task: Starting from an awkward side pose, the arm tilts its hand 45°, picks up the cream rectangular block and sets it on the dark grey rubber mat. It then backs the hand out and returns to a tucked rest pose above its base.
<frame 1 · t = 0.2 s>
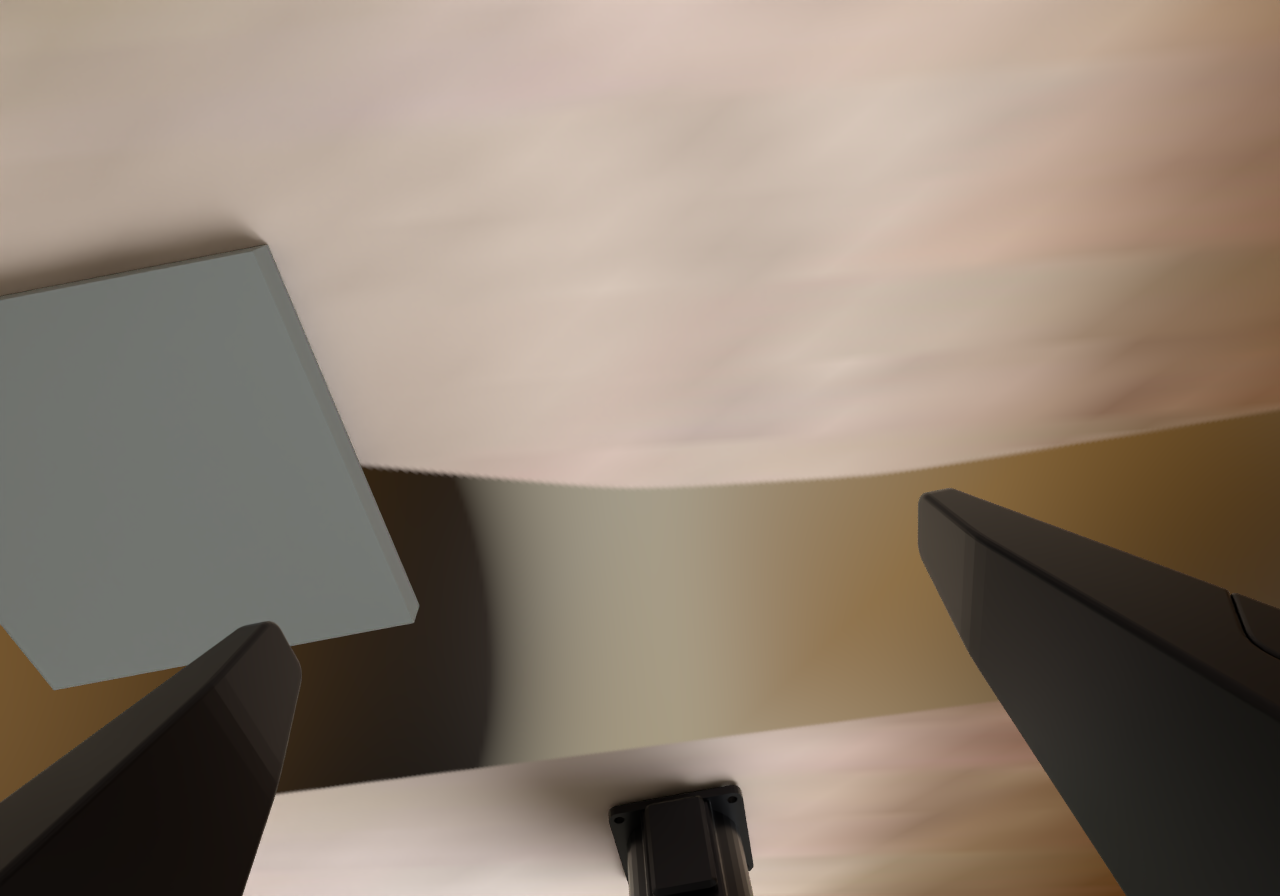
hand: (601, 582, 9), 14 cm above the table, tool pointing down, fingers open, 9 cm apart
rubber mat: (155, 487, 23), on the table
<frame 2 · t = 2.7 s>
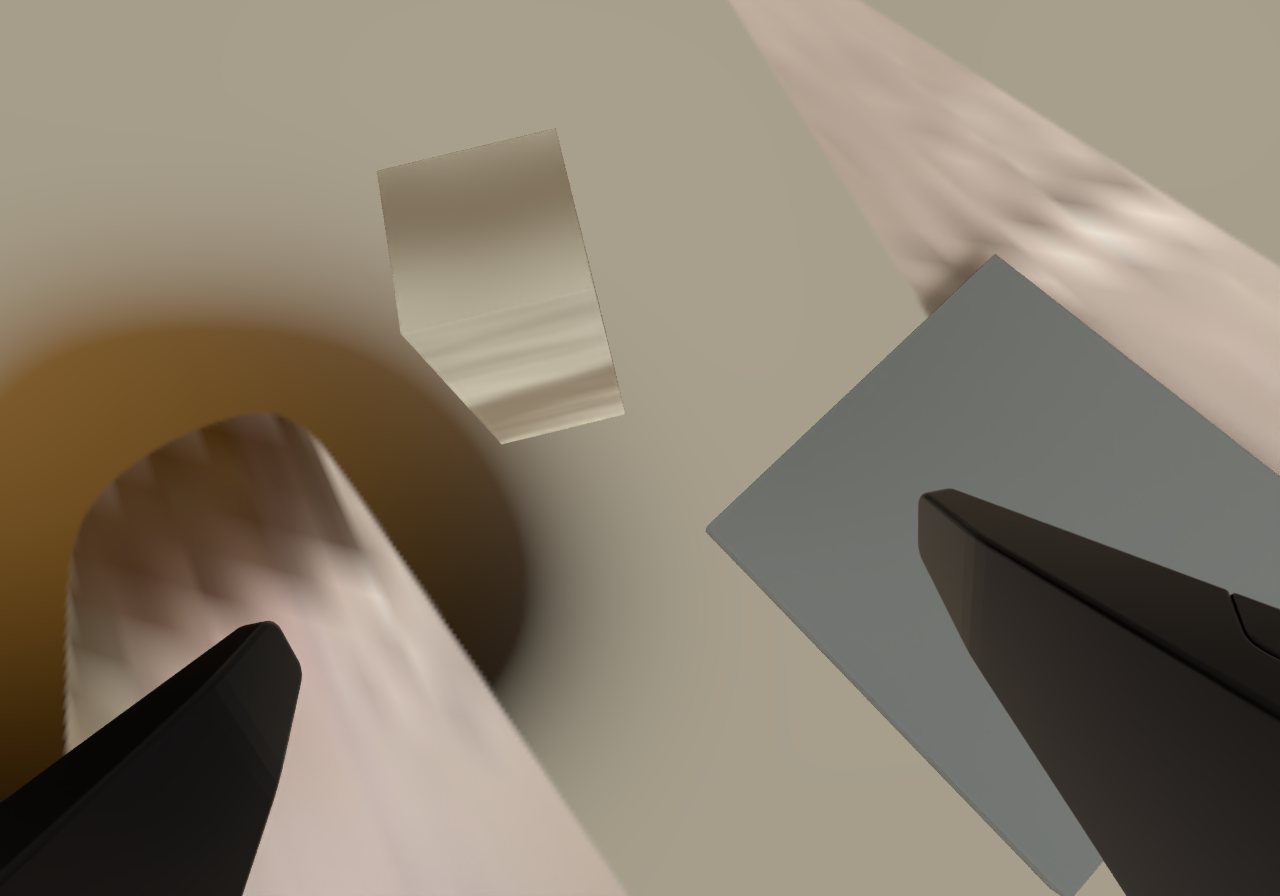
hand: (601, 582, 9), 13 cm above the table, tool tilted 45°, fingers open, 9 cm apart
cream rectangular block: (551, 371, 25), on the table
rubber mat: (1012, 541, 22), on the table
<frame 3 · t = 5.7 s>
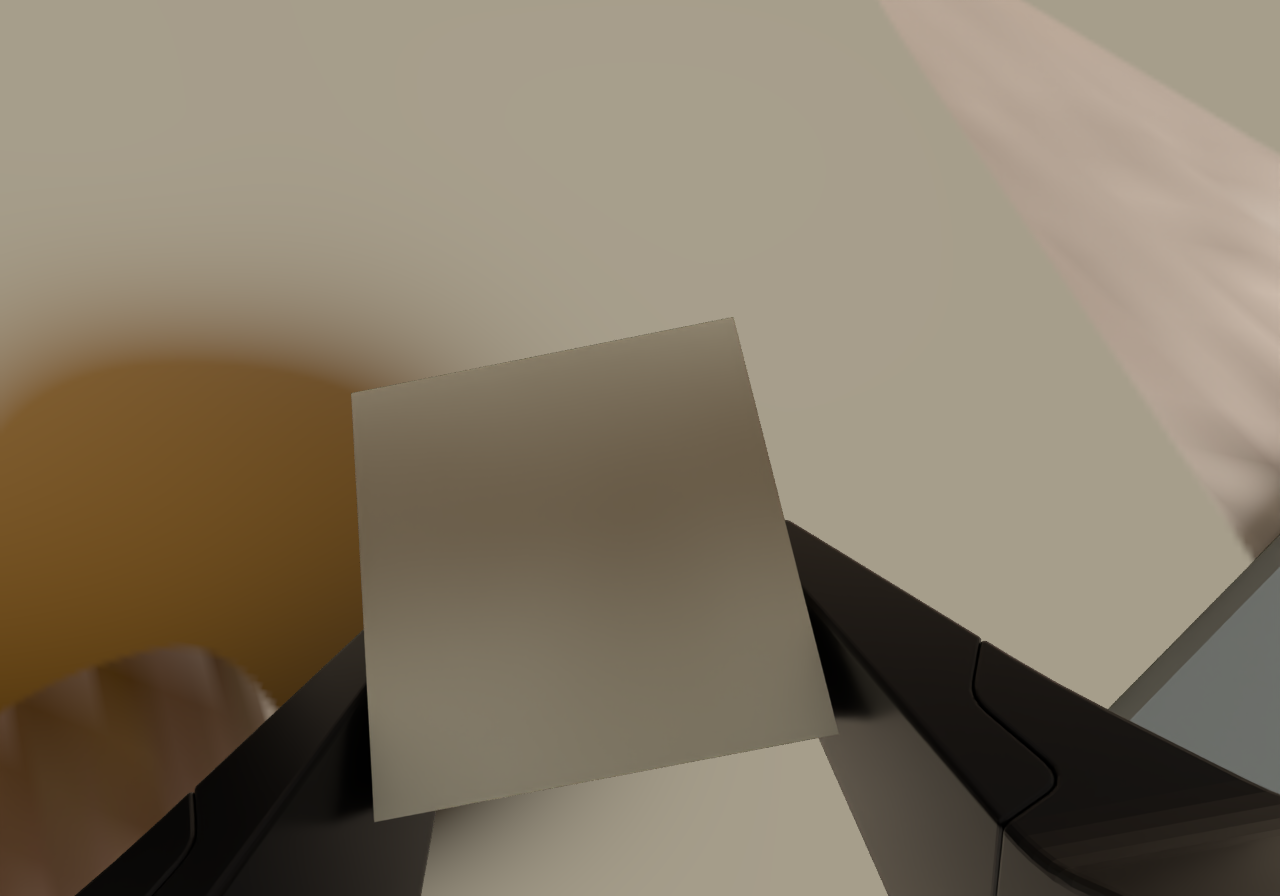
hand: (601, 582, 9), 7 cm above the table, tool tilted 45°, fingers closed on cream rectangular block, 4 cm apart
cream rectangular block: (637, 609, 16), on the table, touching gripper
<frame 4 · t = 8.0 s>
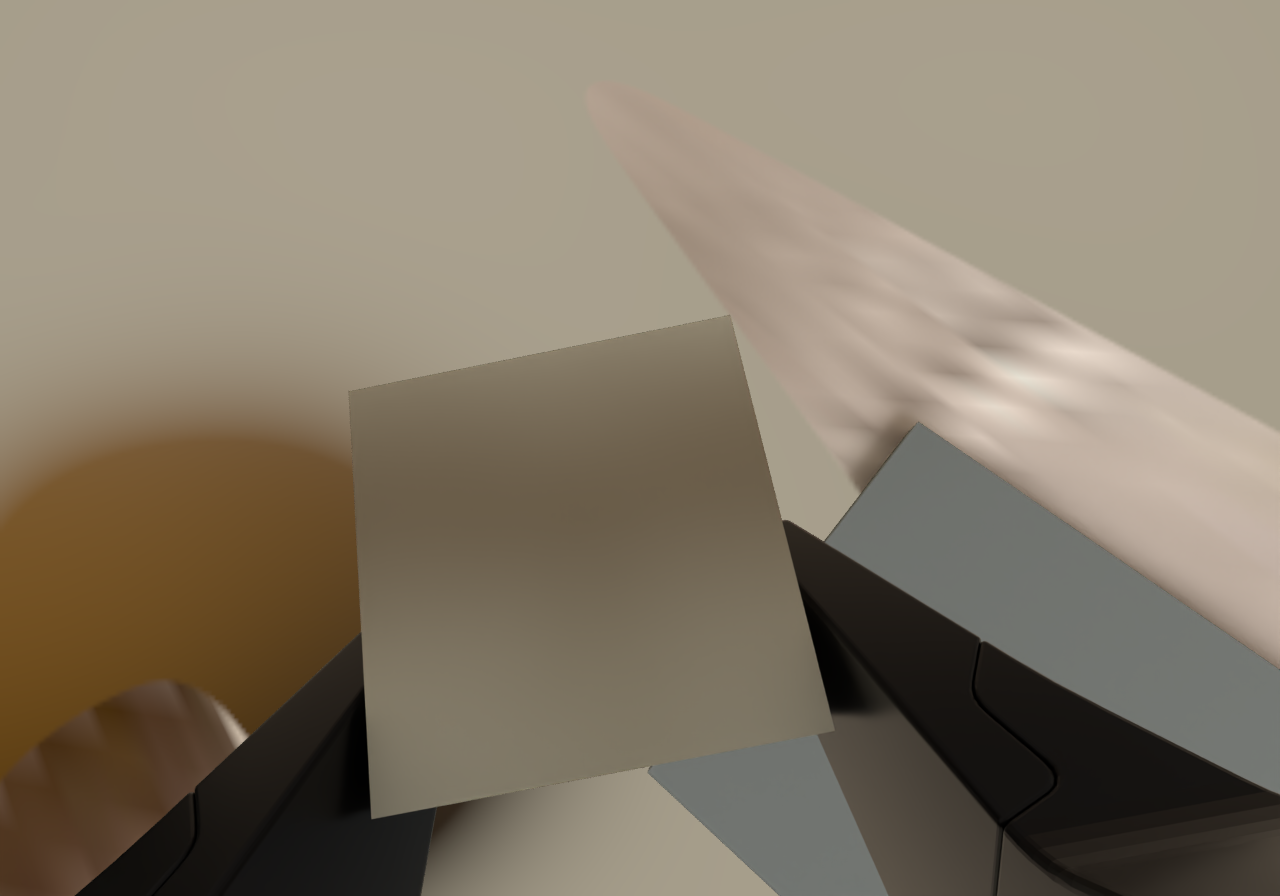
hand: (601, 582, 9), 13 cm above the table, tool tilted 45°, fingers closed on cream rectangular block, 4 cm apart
cream rectangular block: (635, 608, 16), point 7 cm above the table, touching gripper
rubber mat: (975, 740, 21), on the table
when the fingers open (8 cm above the table, at t = 10.4 s): cream rectangular block stays where it is, resting on rubber mat.
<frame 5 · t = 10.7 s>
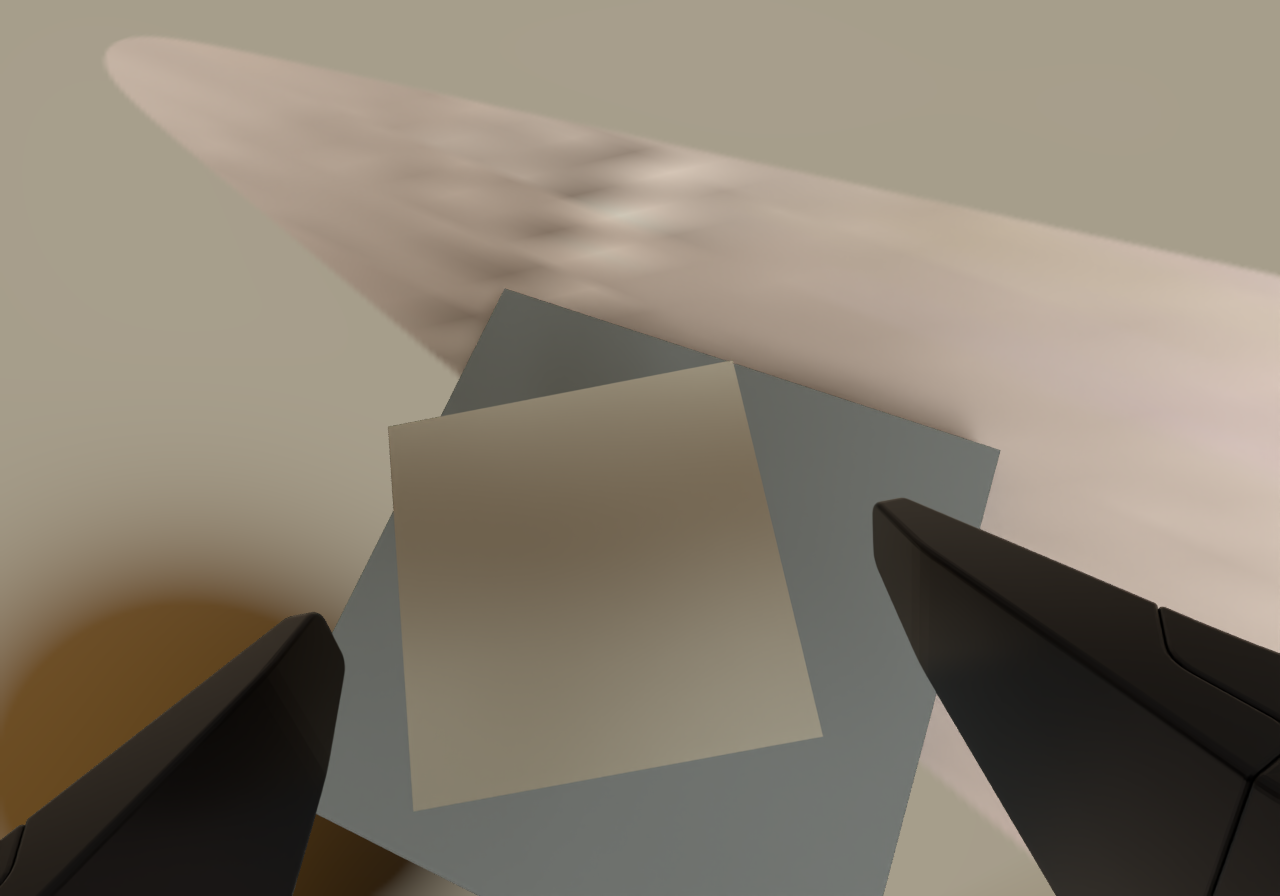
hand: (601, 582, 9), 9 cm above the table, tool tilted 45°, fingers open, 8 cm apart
cream rectangular block: (640, 615, 17), point 1 cm above the table, touching rubber mat
rubber mat: (643, 614, 18), on the table
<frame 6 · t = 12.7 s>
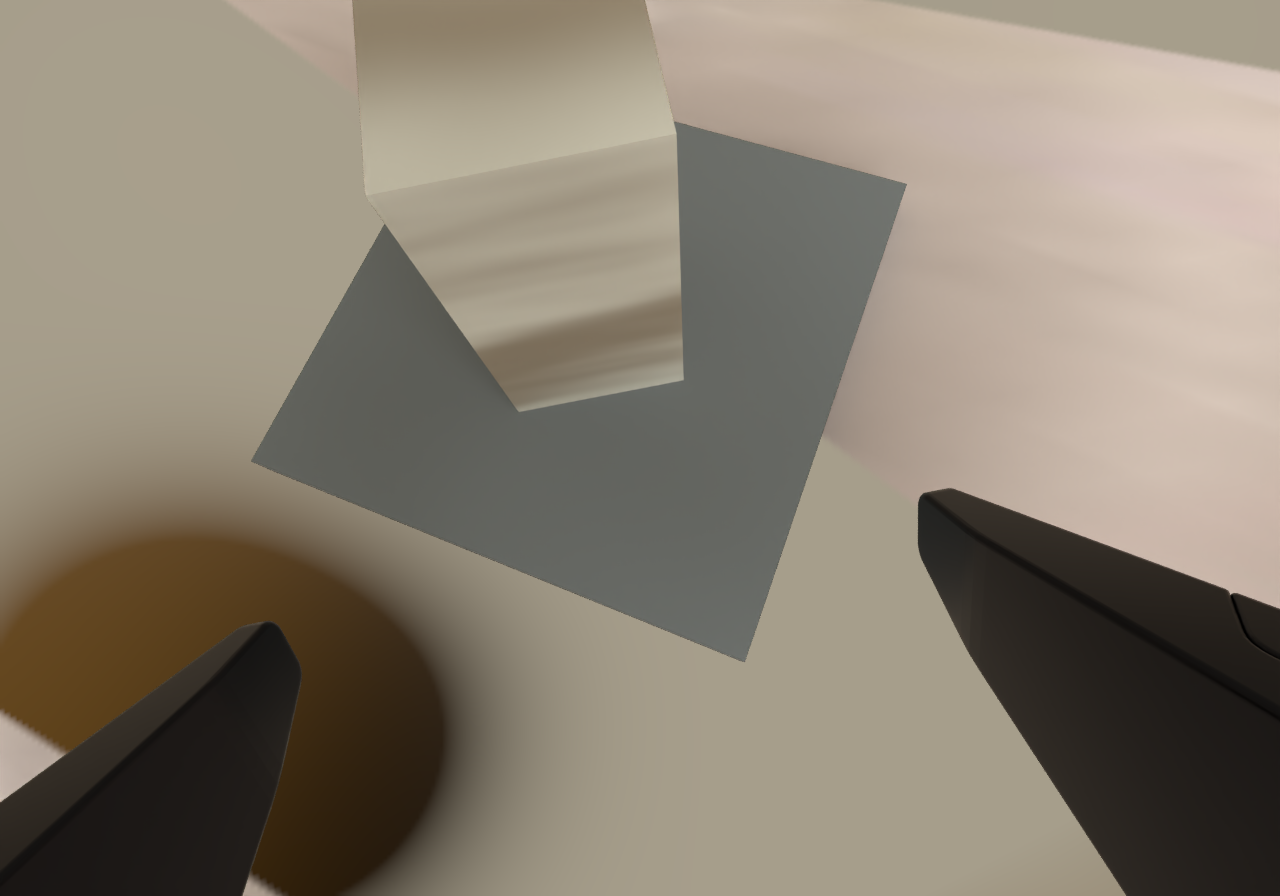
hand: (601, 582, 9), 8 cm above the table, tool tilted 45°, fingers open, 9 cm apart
cream rectangular block: (588, 321, 19), point 1 cm above the table, touching rubber mat
rubber mat: (592, 335, 20), on the table
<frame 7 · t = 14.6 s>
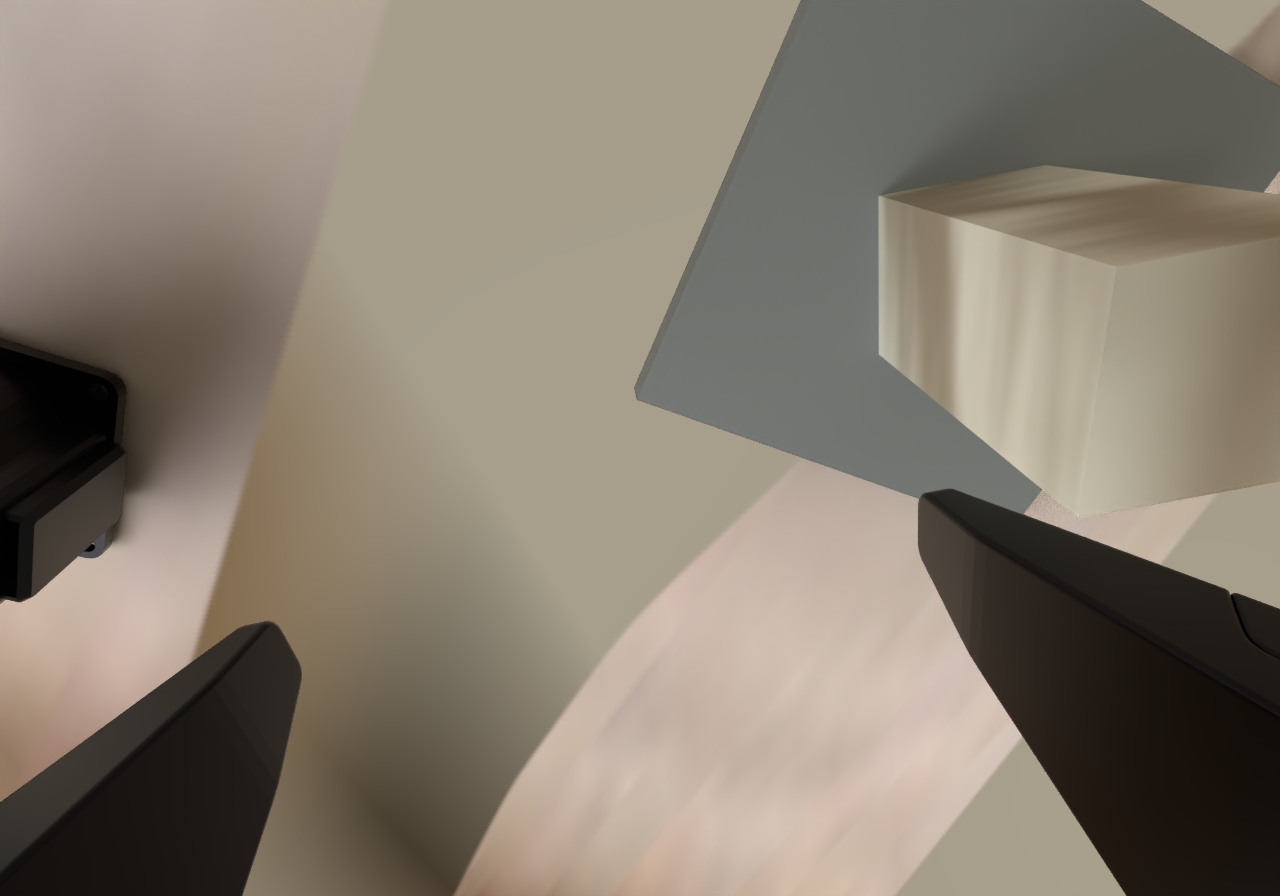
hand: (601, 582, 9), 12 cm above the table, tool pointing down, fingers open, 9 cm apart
cream rectangular block: (957, 264, 19), point 1 cm above the table, touching rubber mat
rubber mat: (943, 257, 20), on the table
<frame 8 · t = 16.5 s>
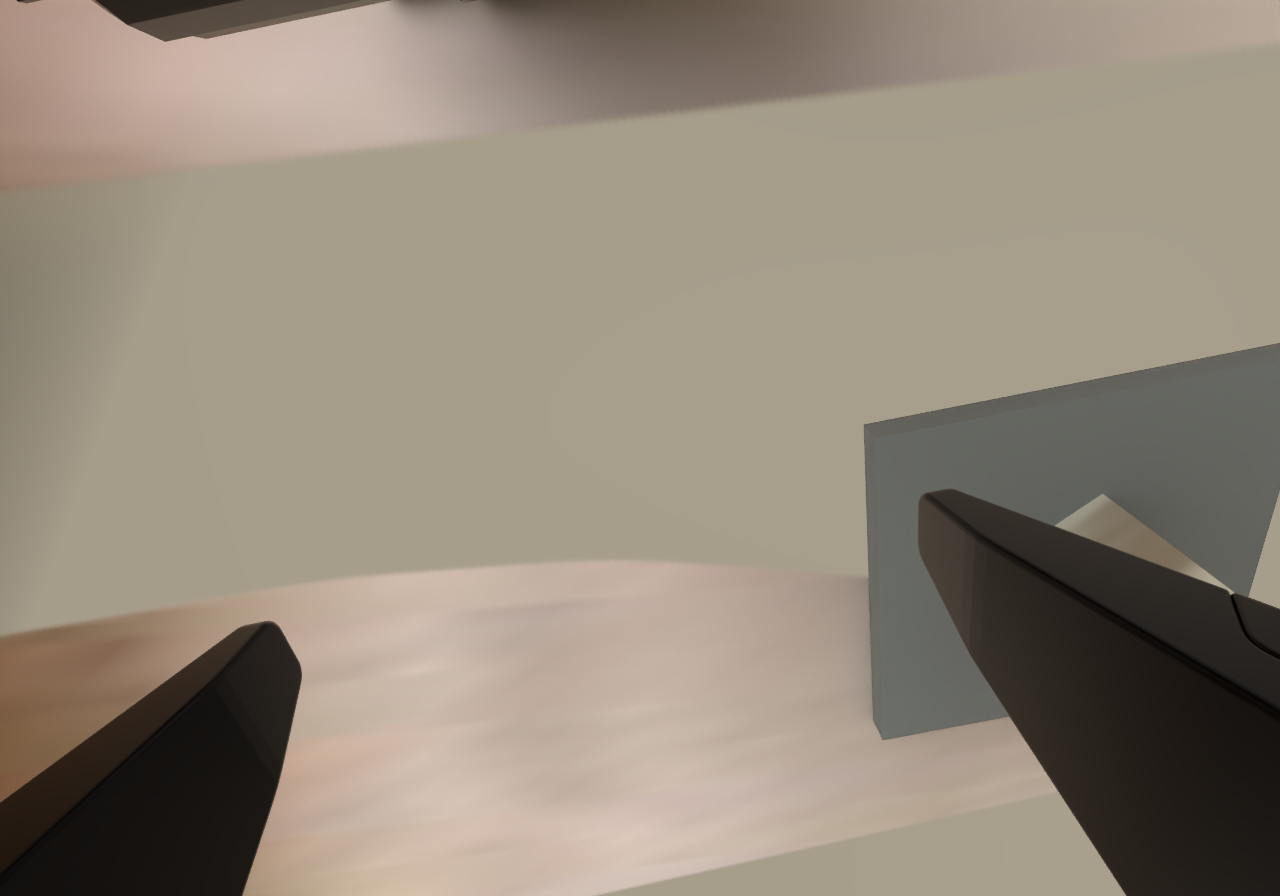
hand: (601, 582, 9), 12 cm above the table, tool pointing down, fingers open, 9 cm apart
cream rectangular block: (1071, 570, 24), point 1 cm above the table, touching rubber mat
rubber mat: (1055, 555, 25), on the table
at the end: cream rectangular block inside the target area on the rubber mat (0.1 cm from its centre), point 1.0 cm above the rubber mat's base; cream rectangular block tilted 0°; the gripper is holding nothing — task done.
